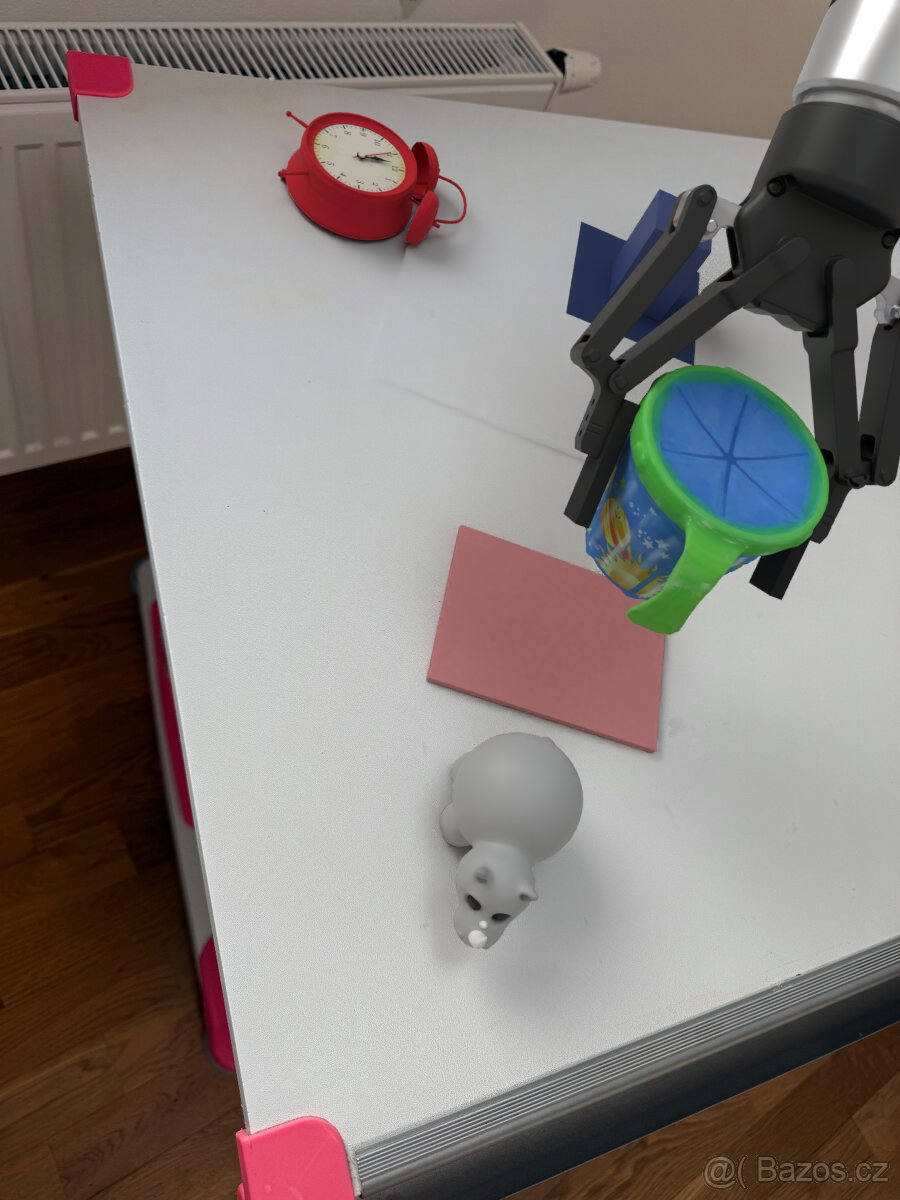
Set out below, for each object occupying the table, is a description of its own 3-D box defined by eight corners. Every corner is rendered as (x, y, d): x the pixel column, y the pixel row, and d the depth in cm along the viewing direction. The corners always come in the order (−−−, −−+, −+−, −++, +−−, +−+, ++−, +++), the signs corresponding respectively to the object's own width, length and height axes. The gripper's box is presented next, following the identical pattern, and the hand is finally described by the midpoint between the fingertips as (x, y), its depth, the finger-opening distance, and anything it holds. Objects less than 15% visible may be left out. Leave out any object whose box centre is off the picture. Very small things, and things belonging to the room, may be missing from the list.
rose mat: (664, 600, 70) (667, 597, 69) (653, 753, 64) (657, 751, 63) (458, 527, 67) (461, 523, 66) (425, 680, 61) (428, 677, 60)
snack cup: (680, 703, 52) (799, 622, 43) (511, 604, 51) (599, 501, 43) (745, 504, 60) (855, 403, 52) (601, 416, 60) (689, 300, 51)
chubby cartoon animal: (382, 934, 53) (431, 904, 46) (449, 743, 59) (501, 691, 52) (500, 984, 53) (566, 963, 46) (554, 790, 60) (619, 746, 53)
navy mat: (696, 276, 89) (699, 272, 88) (691, 369, 83) (694, 365, 82) (578, 225, 87) (581, 220, 86) (563, 317, 80) (566, 312, 80)
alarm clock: (284, 90, 76) (473, 108, 77) (287, 159, 81) (464, 176, 83) (272, 179, 71) (475, 197, 72) (277, 247, 76) (465, 263, 78)
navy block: (663, 283, 86) (713, 212, 79) (660, 322, 83) (711, 252, 77) (613, 261, 85) (659, 188, 78) (608, 300, 82) (655, 227, 76)
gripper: (1007, 232, 52) (825, 606, 57) (623, 47, 47) (460, 470, 52) (1114, 217, 45) (895, 647, 50) (673, -2, 40) (479, 494, 45)
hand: (672, 557), depth 51 cm, fingers closed on snack cup, 10 cm apart
